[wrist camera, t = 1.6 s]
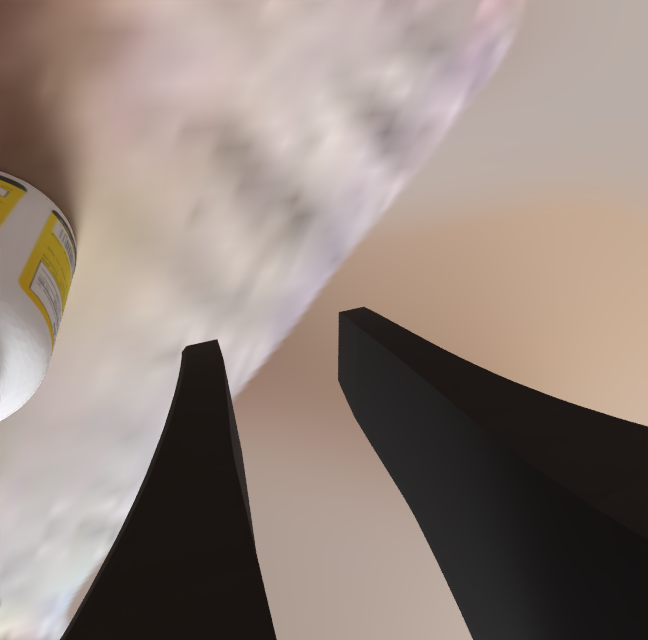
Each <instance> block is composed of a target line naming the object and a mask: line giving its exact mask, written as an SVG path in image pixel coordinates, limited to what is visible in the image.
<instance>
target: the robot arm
mask: <svg viewBox="0 0 648 640" xmlns="http://www.w3.org/2000/svg"><path fill="white" fill-rule="evenodd" d="M338 350H339V355H338V381H339V383H340V386H341V388H342V390H343V393H344V395H345V397H346V399H347V402H348V404H349V406H350V408H351V410H352V412H353V415H354V417H355V419H356V420H357V422H358V423H359V425H360V427H361V429H362V430H363V432H364V434H365V435H366V437H367V438H368V440H369V442H370V443H371V445H372V446H373V448H374V450H375V451H376V453H377V454H378V456H379V458H380V459H381V461H382V463H383V464H384V466H385V468H386V469H387V471H388V472H389V474H390V476H391V477H392V479H393V481H394V482H395V484H396V485H397V487H398V489H399V490H400V492H401V493H402V495H403V497H404V498H405V500H406V502H407V503H408V505H409V507H410V509H411V510H412V512H413V514H414V516H415V518H416V520H417V522H418V524H419V526H420V528H421V530H422V532H423V534H424V536H425V538H426V540H427V542H428V544H429V546H430V548H431V550H432V552H433V554H434V556H435V558H436V560H437V562H438V564H439V566H440V569H441V571H442V573H443V575H444V577H445V579H446V581H447V583H448V586H449V588H450V590H451V592H452V594H453V596H454V598H455V601H456V603H457V605H458V607H459V609H460V611H461V614H462V616H463V618H464V620H465V622H466V625H467V627H468V629H469V631H470V634H471V636H472V638H473V640H648V427H647V426H644V425H641V424H637V423H634V422H630V421H626V420H623V419H619V418H616V417H613V416H610V415H607V414H604V413H600V412H597V411H594V410H591V409H588V408H584V407H581V406H578V405H575V404H572V403H569V402H567V401H563V400H560V399H558V398H555V397H552V396H550V395H547V394H544V393H542V392H539V391H537V390H534V389H532V388H529V387H526V386H523V385H521V384H518V383H516V382H513V381H511V380H509V379H506V378H504V377H502V376H499V375H497V374H494V373H492V372H490V371H488V370H486V369H484V368H482V367H479V366H477V365H475V364H473V363H471V362H469V361H466V360H464V359H462V358H460V357H458V356H456V355H454V354H452V353H450V352H448V351H446V350H444V349H442V348H440V347H438V346H437V345H435V344H433V343H431V342H429V341H427V340H425V339H423V338H421V337H420V336H418V335H416V334H414V333H412V332H410V331H408V330H407V329H405V328H403V327H401V326H399V325H398V324H396V323H394V322H392V321H390V320H389V319H387V318H385V317H383V316H381V315H379V314H377V313H375V312H373V311H371V310H369V309H367V308H365V307H361V308H356V309H352V310H347V311H343V312H339V349H338ZM60 640H277V639H276V635H275V631H274V627H273V622H272V618H271V614H270V610H269V606H268V601H267V597H266V593H265V588H264V584H263V580H262V575H261V571H260V567H259V563H258V558H257V554H256V548H255V541H254V534H253V527H252V520H251V512H250V506H249V498H248V492H247V484H246V477H245V470H244V463H243V457H242V450H241V446H240V440H239V436H238V430H237V425H236V420H235V415H234V410H233V405H232V400H231V395H230V390H229V385H228V380H227V375H226V370H225V365H224V360H223V356H222V353H221V350H220V346H219V343H218V340H217V339H216V340H212V341H207V342H203V343H198V344H194V345H189V346H186V348H185V349H184V350H183V351H182V360H181V367H180V372H179V377H178V381H177V385H176V389H175V393H174V397H173V400H172V404H171V407H170V410H169V413H168V416H167V420H166V423H165V426H164V429H163V432H162V435H161V437H160V440H159V442H158V445H157V448H156V450H155V453H154V455H153V458H152V460H151V463H150V466H149V468H148V471H147V473H146V476H145V478H144V480H143V483H142V485H141V487H140V489H139V492H138V494H137V496H136V498H135V501H134V503H133V505H132V507H131V509H130V511H129V513H128V515H127V518H126V520H125V522H124V524H123V526H122V528H121V530H120V532H119V534H118V536H117V538H116V540H115V542H114V544H113V546H112V548H111V549H110V551H109V553H108V555H107V557H106V559H105V561H104V563H103V564H102V566H101V568H100V570H99V572H98V574H97V576H96V578H95V579H94V581H93V583H92V585H91V587H90V589H89V591H88V593H87V594H86V596H85V598H84V599H83V601H82V603H81V605H80V607H79V608H78V610H77V612H76V614H75V615H74V617H73V619H72V621H71V622H70V624H69V626H68V627H67V629H66V631H65V632H64V634H63V636H62V637H61V639H60Z"/></svg>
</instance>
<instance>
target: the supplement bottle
mask: <svg viewBox="0 0 648 640" xmlns="http://www.w3.org/2000/svg"><path fill="white" fill-rule="evenodd" d="M76 258H77V247H76V241H75V237H74V234H73V231H72V229H71V226H70V224H69V222H68V221H67V219H66V217H65V216H64V214H63V213H62V212H61V211H60V209H59V208H58V207H57V206H56V205H55V204H54V203H53V202H52V201H51V200H50V199H49V198H48V197H47V196H46V195H44V194H43V193H42V192H40V191H39V190H38V189H36V188H35V187H33V186H31V185H30V184H28V183H27V182H25V181H23V180H21V179H19V178H16V177H14V176H12V175H9V174H7V173H4V172H1V171H0V421H1V420H3V419H5V418H6V417H8V416H9V415H11V414H12V413H14V412H15V411H16V410H18V409H19V408H20V407H21V406H23V405H24V404H25V403H26V402H27V401H28V400H29V398H30V397H31V396H32V395H33V394H34V392H35V391H36V390H37V389H38V387H39V386H40V384H41V382H42V380H43V378H44V376H45V373H46V371H47V368H48V365H49V362H50V359H51V356H52V352H53V348H54V344H55V341H56V336H57V333H58V329H59V326H60V322H61V318H62V315H63V311H64V307H65V304H66V301H67V296H68V293H69V289H70V286H71V282H72V278H73V275H74V271H75V266H76Z"/></svg>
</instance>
